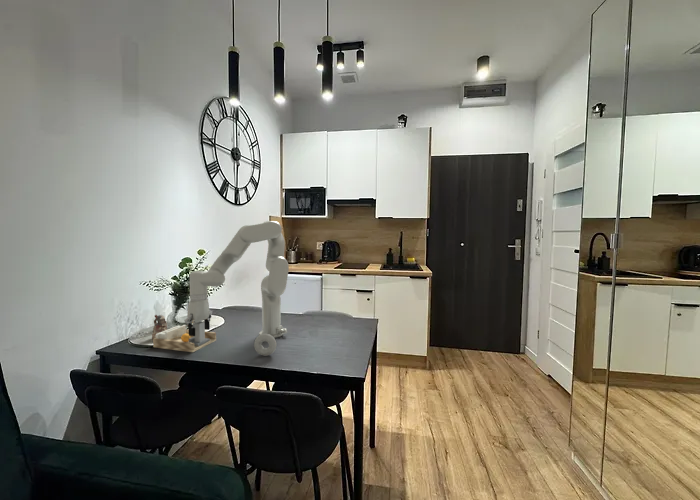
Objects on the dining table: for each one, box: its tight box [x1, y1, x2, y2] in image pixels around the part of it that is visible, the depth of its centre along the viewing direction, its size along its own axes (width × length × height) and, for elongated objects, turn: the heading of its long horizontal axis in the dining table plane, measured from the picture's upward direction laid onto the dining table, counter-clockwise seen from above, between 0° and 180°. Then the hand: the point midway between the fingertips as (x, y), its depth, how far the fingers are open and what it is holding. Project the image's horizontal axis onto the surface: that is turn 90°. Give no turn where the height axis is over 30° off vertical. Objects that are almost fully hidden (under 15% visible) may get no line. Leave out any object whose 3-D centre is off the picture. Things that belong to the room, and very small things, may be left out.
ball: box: [181, 333, 190, 342], centre depth 156 cm, size 4×4×4 cm
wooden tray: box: [152, 328, 217, 353], centre depth 156 cm, size 22×16×4 cm
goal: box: [156, 324, 187, 340], centre depth 158 cm, size 6×14×6 cm, turn 165°
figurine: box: [151, 314, 168, 340], centre depth 163 cm, size 7×7×12 cm
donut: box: [253, 334, 277, 357], centre depth 143 cm, size 10×4×10 cm, turn 87°
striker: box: [189, 321, 210, 346], centre depth 154 cm, size 5×8×10 cm, turn 165°
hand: (199, 332), depth 154 cm, fingers open, 9 cm apart
